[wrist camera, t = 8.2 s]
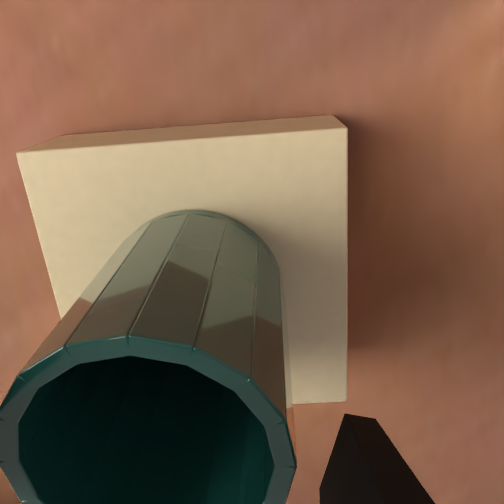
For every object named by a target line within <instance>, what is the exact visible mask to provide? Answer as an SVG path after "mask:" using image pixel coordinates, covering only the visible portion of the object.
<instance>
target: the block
mask: <svg viewBox="0 0 504 504" xmlns="http://www.w3.org/2000/svg"><path fill="white" fill-rule="evenodd" d="M16 156H17V160H18V163H19V167H20V171H21V174H22V178H23V182H24V185H25V189H26V193H27V196H28V200H29V204H30V207H31V211H32V215H33V218H34V222H35V225H36V229H37V233H38V236H39V240H40V244H41V247H42V251H43V255H44V258H45V262H46V266H47V269H48V273H49V277H50V280H51V284H52V287H53V291H54V295H55V298H56V302H57V306H58V309H59V313H60V317H61V319H62V318H63V317H64V316H65V314H66V313H67V312H68V310H69V309H70V308H71V307H72V305H73V304H74V303H75V302H76V300H77V299H78V298H79V297H80V295H81V294H82V293H83V292H84V290H85V289H86V288H87V286H88V285H89V284H90V283H91V281H92V280H93V279H94V278H95V276H96V275H97V274H98V273H99V271H100V270H101V269H102V268H103V266H104V265H105V264H106V262H107V261H108V260H109V259H110V257H111V256H112V255H113V254H114V252H115V251H116V250H117V249H118V247H119V246H120V245H121V244H122V242H123V241H124V240H125V239H126V238H128V237H129V236H130V235H131V234H132V233H133V232H134V231H135V230H136V229H137V228H139V227H140V226H141V225H142V224H144V223H146V222H147V221H149V220H151V219H153V218H155V217H157V216H160V215H162V214H166V213H170V212H173V211H180V210H205V211H211V212H215V213H219V214H223V215H225V216H228V217H231V218H233V219H235V220H237V221H239V222H241V223H242V224H244V225H246V226H247V227H248V228H250V229H251V230H253V231H254V232H255V233H256V234H257V235H258V236H259V237H260V238H261V239H262V240H263V241H264V242H265V243H266V245H267V246H268V247H269V248H270V250H271V252H272V253H273V255H274V256H275V258H276V261H277V263H278V265H279V268H280V271H281V275H282V280H283V287H284V294H285V299H286V313H287V327H288V342H289V356H290V370H291V385H292V399H293V404H296V403H322V402H346V401H347V348H348V129H347V127H346V126H345V125H343V124H342V123H341V122H340V121H339V120H338V119H337V118H336V117H335V116H333V115H321V116H308V117H295V118H282V119H269V120H256V121H243V122H230V123H217V124H204V125H190V126H177V127H164V128H151V129H138V130H125V131H112V132H99V133H86V134H73V135H61V136H58V137H56V138H53V139H50V140H48V141H45V142H42V143H40V144H37V145H34V146H32V147H29V148H26V149H24V150H21V151H19V152H17V153H16Z"/></svg>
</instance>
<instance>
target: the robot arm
mask: <svg viewBox="0 0 504 504" xmlns="http://www.w3.org/2000/svg"><path fill="white" fill-rule="evenodd" d="M320 504H435V503H434V501H433V500H432V499H431V497H430V496H429V495H428V493H427V492H426V490H425V489H424V488H423V486H422V485H421V483H420V482H419V481H418V479H417V478H416V476H415V475H414V473H413V472H412V471H411V469H410V468H409V466H408V465H407V463H406V462H405V461H404V459H403V458H402V456H401V455H400V453H399V452H398V451H397V449H396V448H395V446H394V445H393V443H392V442H391V440H390V439H389V437H388V436H387V435H386V433H385V432H384V430H383V429H382V427H381V426H380V425H379V423H378V422H377V420H376V419H374V418H368V417H362V416H356V415H350V414H344V417H343V420H342V423H341V426H340V429H339V432H338V435H337V438H336V441H335V444H334V447H333V450H332V453H331V456H330V459H329V462H328V465H327V468H326V471H325V474H324V477H323V480H322V483H321V486H320Z"/></svg>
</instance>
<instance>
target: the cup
mask: <svg viewBox="0 0 504 504" xmlns="http://www.w3.org/2000/svg"><path fill="white" fill-rule="evenodd" d="M0 467H1V469H2V471H3V473H4V474H5V476H6V478H7V480H8V482H9V483H10V485H11V487H12V489H13V490H14V492H15V494H16V496H17V498H18V499H19V501H21V503H22V504H286V501H287V498H288V494H289V491H290V488H291V485H292V481H293V478H294V475H295V471H296V468H297V456H296V442H295V428H294V413H293V399H292V385H291V370H290V356H289V342H288V327H287V313H286V299H285V294H284V287H283V280H282V275H281V271H280V268H279V265H278V263H277V261H276V258H275V256H274V255H273V253H272V252H271V250H270V248H269V247H268V246H267V245H266V243H265V242H264V241H263V240H262V239H261V238H260V237H259V236H258V235H257V234H256V233H255V232H254V231H253V230H251V229H250V228H248V227H247V226H246V225H244V224H242V223H241V222H239V221H237V220H235V219H233V218H231V217H228V216H225V215H223V214H219V213H215V212H211V211H205V210H180V211H173V212H170V213H166V214H162V215H160V216H157V217H155V218H153V219H151V220H149V221H147V222H146V223H144V224H142V225H141V226H140V227H139V228H137V229H136V230H135V231H134V232H133V233H132V234H131V235H130V236H129V237H128V238H126V239H125V240H124V241H123V242H122V244H121V245H120V246H119V247H118V249H117V250H116V251H115V252H114V254H113V255H112V256H111V257H110V259H109V260H108V261H107V262H106V264H105V265H104V266H103V268H102V269H101V270H100V271H99V273H98V274H97V275H96V276H95V278H94V279H93V280H92V281H91V283H90V284H89V285H88V286H87V288H86V289H85V290H84V292H83V293H82V294H81V295H80V297H79V298H78V299H77V300H76V302H75V303H74V304H73V305H72V307H71V308H70V309H69V310H68V312H67V313H66V314H65V316H64V317H63V318H62V319H61V321H60V322H59V323H58V324H57V326H56V327H55V328H54V329H53V331H52V332H51V333H50V335H49V336H48V337H47V338H46V340H45V341H44V342H43V343H42V345H41V346H40V347H39V348H38V350H37V351H36V352H35V353H34V355H33V356H32V357H31V359H30V360H29V361H28V362H27V364H26V365H25V366H24V367H23V369H22V370H21V371H20V372H19V374H18V375H17V377H16V378H15V380H14V382H13V384H12V386H11V387H10V389H9V391H8V393H7V395H6V397H5V398H4V400H3V402H2V404H1V406H0Z"/></svg>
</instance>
